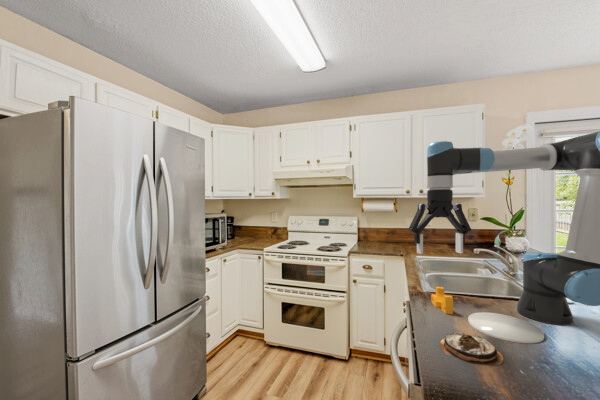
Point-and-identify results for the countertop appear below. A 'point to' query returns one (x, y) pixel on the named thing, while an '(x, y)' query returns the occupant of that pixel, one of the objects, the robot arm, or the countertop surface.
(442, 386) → the countertop surface
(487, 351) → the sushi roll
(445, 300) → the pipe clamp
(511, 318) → the plate
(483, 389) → the countertop surface
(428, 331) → the countertop surface
